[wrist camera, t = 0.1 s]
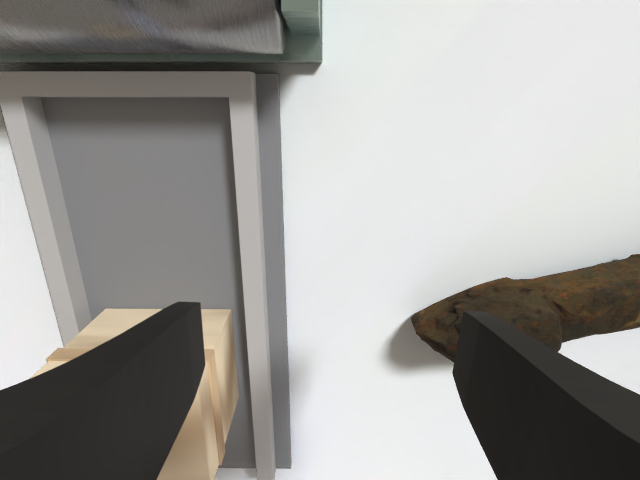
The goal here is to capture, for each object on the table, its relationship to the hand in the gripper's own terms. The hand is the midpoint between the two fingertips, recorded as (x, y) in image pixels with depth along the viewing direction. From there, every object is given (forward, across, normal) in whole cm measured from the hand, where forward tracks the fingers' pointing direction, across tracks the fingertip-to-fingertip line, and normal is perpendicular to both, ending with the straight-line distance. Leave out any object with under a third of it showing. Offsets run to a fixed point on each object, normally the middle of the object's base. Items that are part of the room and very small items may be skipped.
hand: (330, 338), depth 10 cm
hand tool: (+10, -14, +3) cm, 18 cm away
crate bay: (+10, +9, +5) cm, 14 cm away
